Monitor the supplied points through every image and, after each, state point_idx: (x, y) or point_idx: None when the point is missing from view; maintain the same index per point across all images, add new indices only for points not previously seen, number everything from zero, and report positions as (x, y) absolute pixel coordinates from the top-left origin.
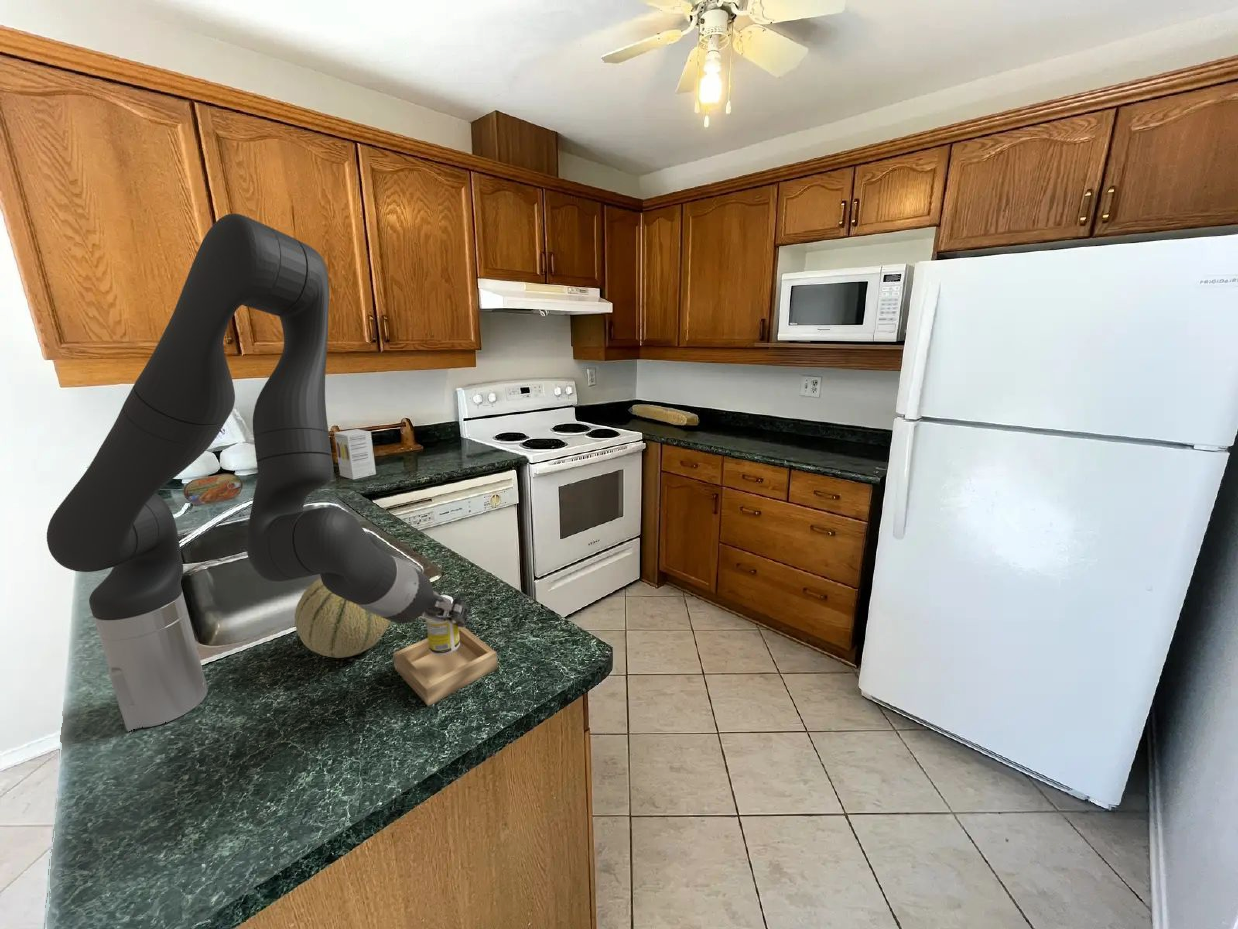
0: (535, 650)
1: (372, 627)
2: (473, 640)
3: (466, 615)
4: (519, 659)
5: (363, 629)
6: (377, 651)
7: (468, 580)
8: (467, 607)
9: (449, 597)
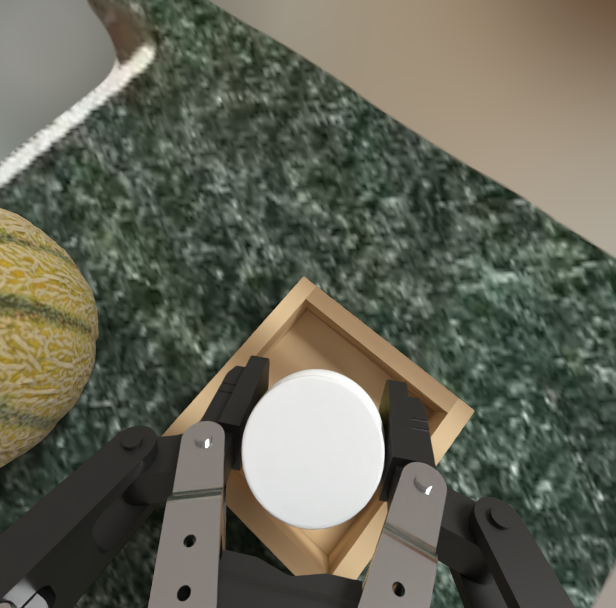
0: (524, 326)
1: (45, 408)
2: (378, 355)
3: (426, 420)
4: (496, 366)
5: (15, 439)
6: (108, 362)
7: (232, 57)
8: (540, 556)
9: (350, 400)
